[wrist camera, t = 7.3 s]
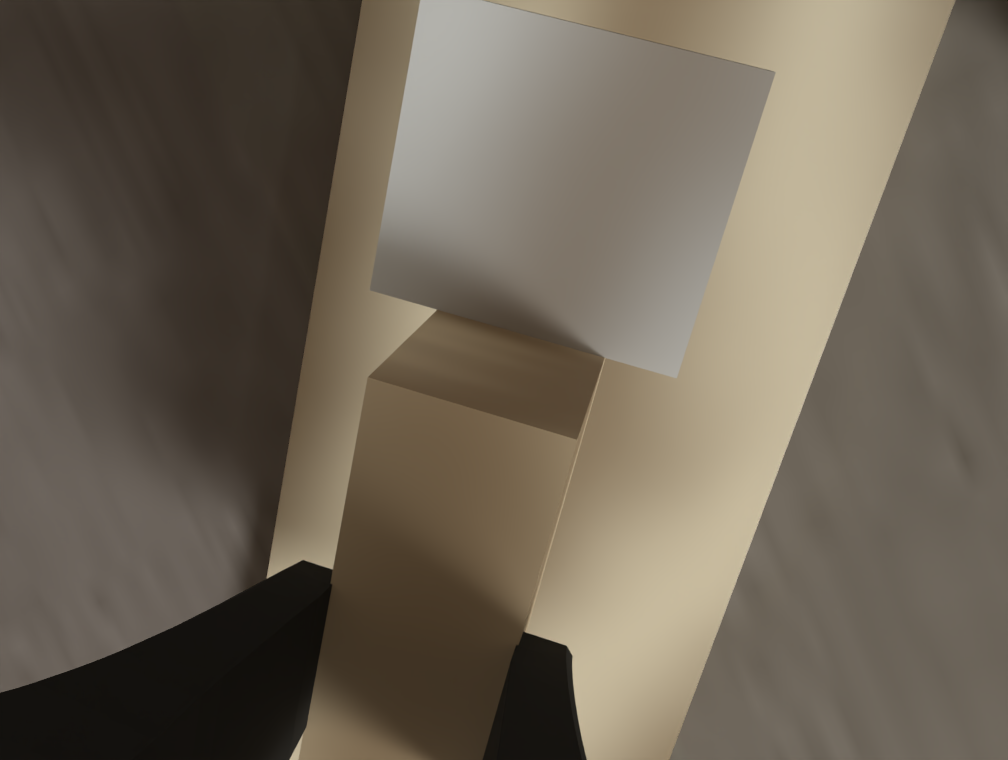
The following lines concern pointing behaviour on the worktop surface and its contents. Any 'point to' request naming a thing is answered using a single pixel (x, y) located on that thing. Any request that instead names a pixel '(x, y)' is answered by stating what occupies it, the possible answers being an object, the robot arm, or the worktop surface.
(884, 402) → the worktop surface
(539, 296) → the turner
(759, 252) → the tool board
